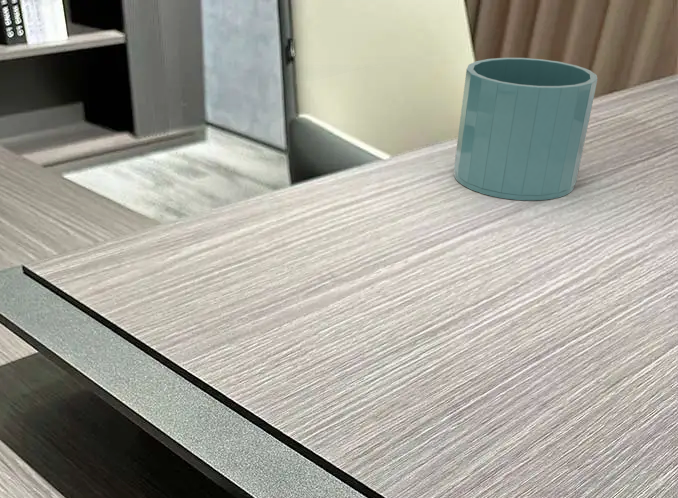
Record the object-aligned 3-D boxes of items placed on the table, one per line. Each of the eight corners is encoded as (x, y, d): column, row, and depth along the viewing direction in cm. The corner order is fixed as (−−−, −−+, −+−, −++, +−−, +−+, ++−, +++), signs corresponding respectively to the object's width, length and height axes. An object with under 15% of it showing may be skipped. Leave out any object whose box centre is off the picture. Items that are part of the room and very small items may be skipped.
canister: (552, 159, 83) (572, 58, 78) (592, 200, 73) (617, 88, 68) (443, 159, 82) (455, 57, 77) (468, 200, 73) (484, 87, 68)
